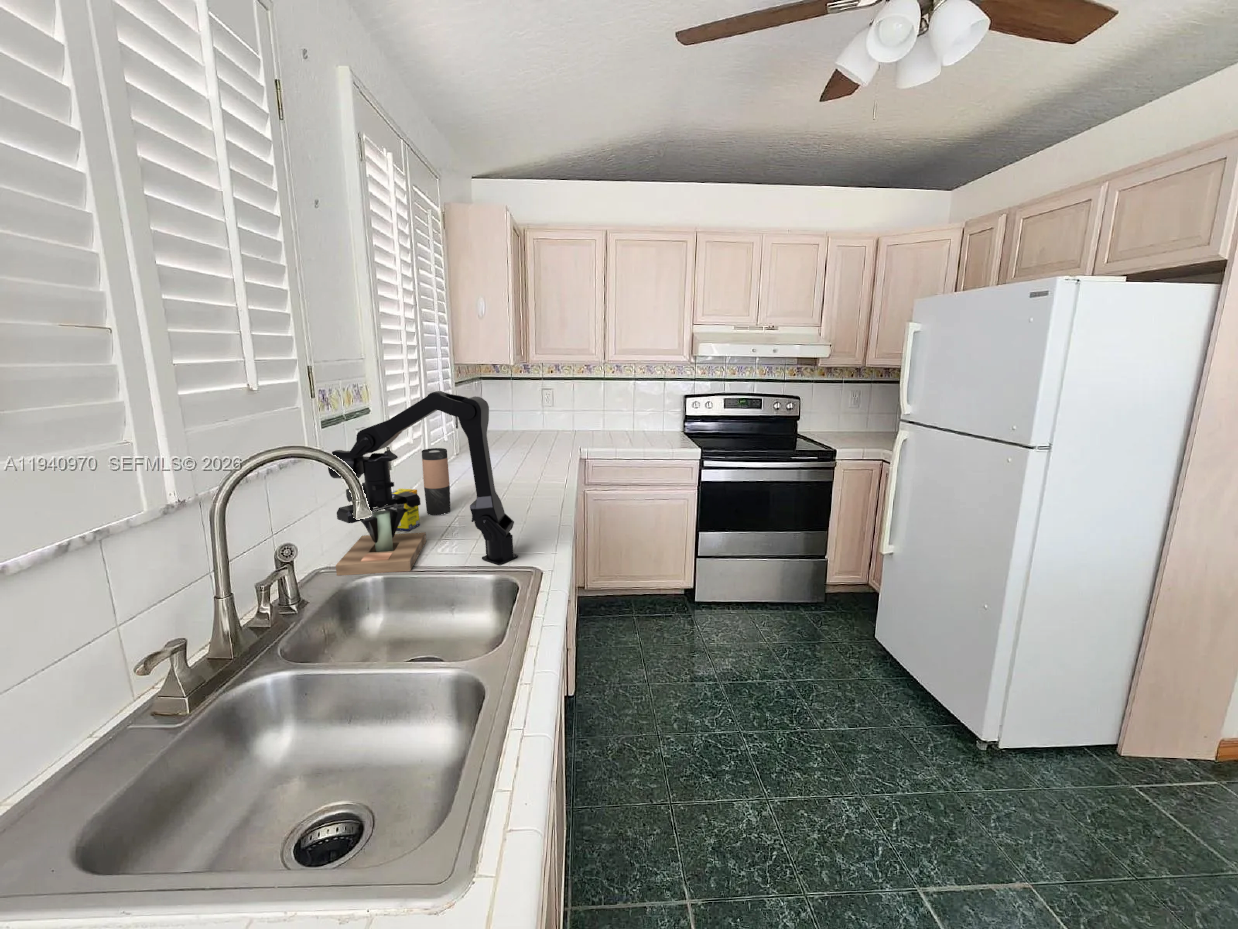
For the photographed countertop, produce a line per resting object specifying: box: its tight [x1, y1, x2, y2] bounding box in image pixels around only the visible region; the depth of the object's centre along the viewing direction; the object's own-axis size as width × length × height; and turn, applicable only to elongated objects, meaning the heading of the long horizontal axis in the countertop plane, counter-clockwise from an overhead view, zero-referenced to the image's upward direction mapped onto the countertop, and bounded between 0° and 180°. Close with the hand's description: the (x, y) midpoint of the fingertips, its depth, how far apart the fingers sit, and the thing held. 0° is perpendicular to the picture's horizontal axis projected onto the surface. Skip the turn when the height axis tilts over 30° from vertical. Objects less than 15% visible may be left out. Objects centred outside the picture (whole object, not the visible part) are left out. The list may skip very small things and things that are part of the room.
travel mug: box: [421, 447, 451, 516], centre depth 166 cm, size 8×8×20 cm
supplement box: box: [392, 488, 421, 532], centre depth 153 cm, size 6×6×11 cm
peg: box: [373, 509, 393, 552], centre depth 131 cm, size 4×4×10 cm
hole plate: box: [335, 531, 427, 577], centre depth 132 cm, size 20×16×3 cm
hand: (383, 539), depth 131 cm, fingers closed on peg, 4 cm apart
